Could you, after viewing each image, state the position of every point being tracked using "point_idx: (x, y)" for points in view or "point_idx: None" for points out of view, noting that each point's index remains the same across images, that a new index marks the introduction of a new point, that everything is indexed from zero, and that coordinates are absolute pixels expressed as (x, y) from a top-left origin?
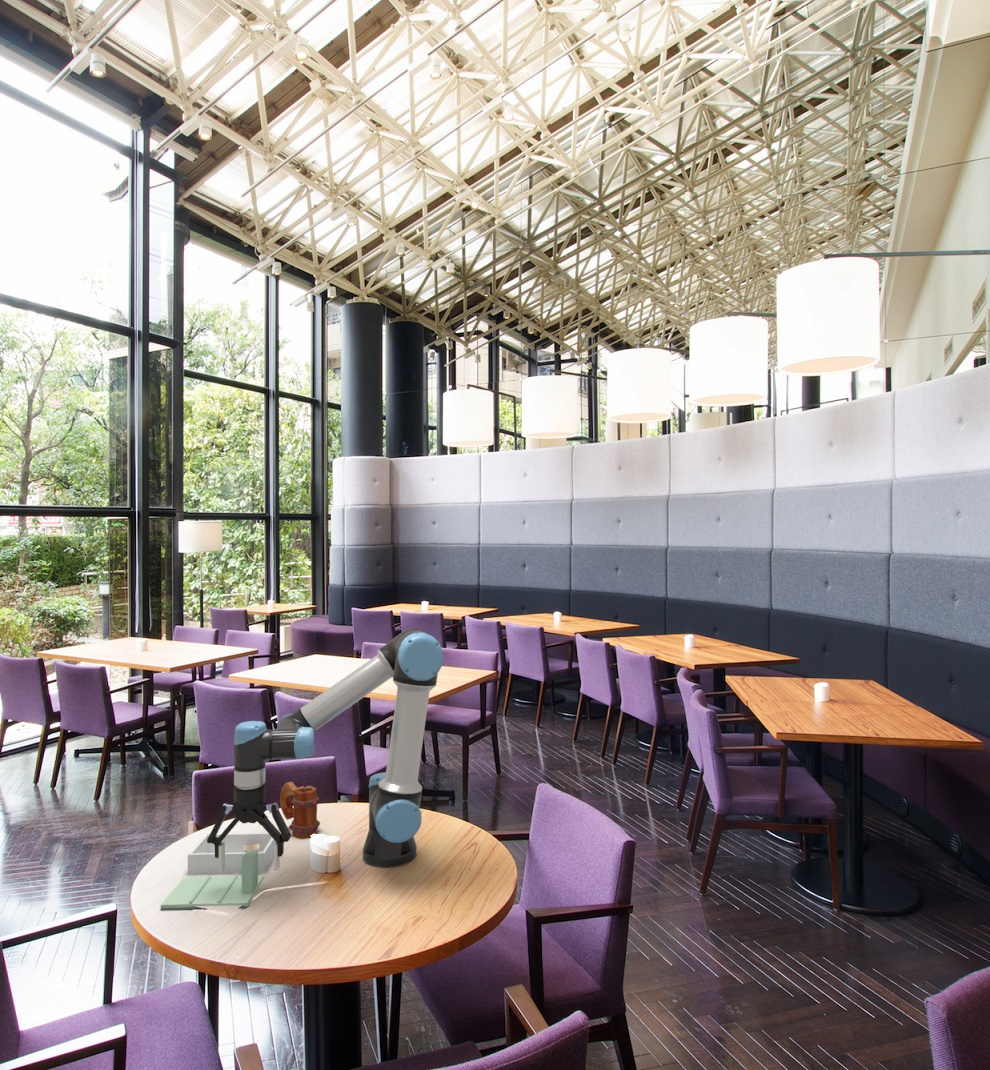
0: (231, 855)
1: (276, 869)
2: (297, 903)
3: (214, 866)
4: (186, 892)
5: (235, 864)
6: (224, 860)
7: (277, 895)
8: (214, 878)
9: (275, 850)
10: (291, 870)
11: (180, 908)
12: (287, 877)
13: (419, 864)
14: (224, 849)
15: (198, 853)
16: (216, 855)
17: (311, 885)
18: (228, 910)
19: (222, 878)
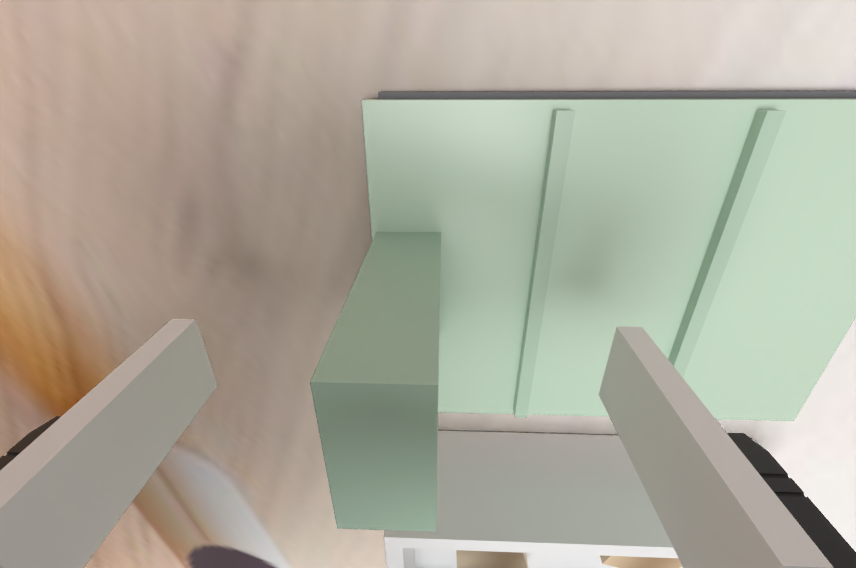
0: (579, 533)
1: (165, 326)
2: (87, 147)
3: None
4: (784, 268)
5: (543, 483)
6: (627, 433)
7: (254, 249)
8: None
9: (27, 465)
10: (297, 461)
11: (816, 91)
12: (287, 412)
13: None
14: (680, 535)
15: None
16: (751, 456)
17: (133, 338)
18: (483, 69)
19: (588, 401)
